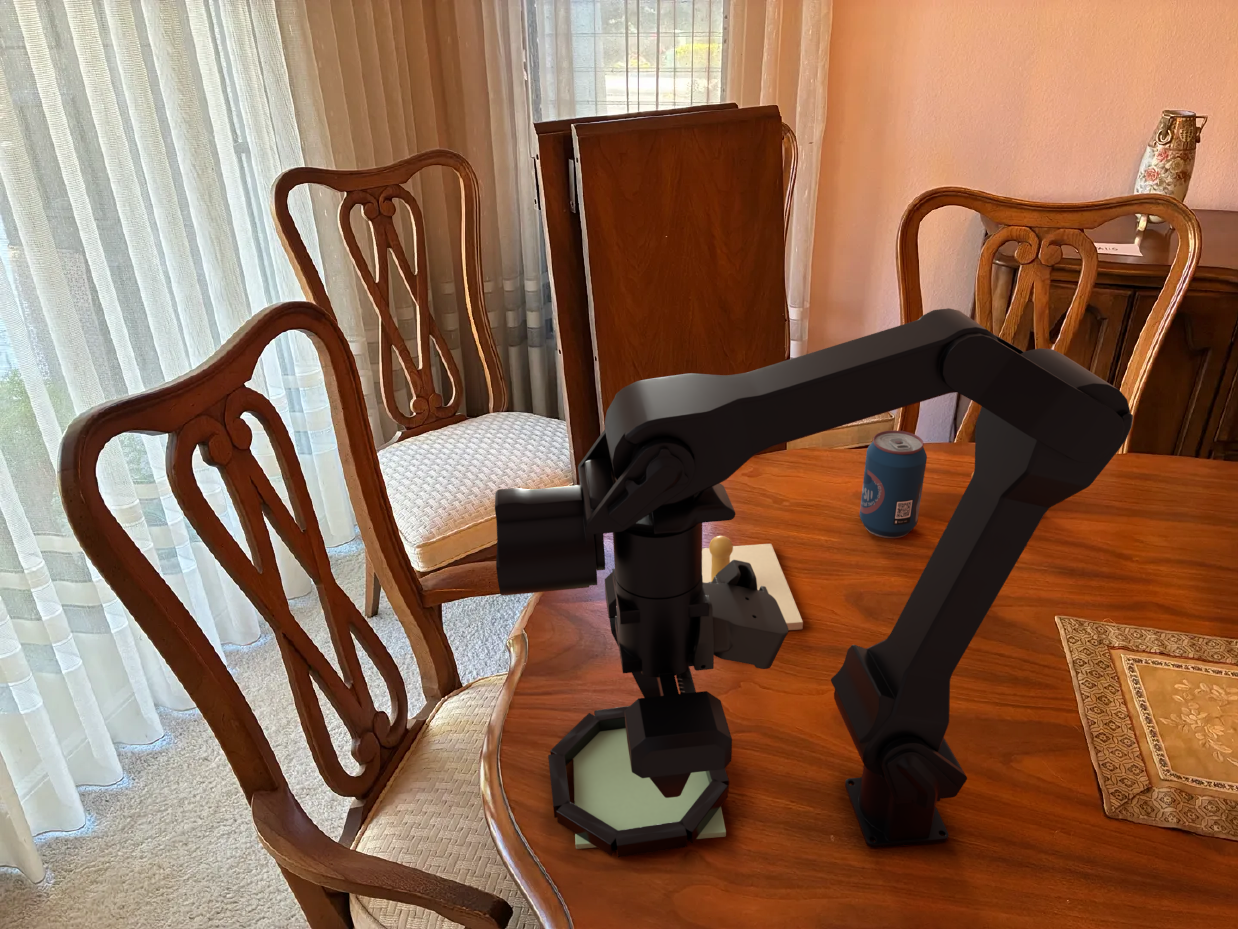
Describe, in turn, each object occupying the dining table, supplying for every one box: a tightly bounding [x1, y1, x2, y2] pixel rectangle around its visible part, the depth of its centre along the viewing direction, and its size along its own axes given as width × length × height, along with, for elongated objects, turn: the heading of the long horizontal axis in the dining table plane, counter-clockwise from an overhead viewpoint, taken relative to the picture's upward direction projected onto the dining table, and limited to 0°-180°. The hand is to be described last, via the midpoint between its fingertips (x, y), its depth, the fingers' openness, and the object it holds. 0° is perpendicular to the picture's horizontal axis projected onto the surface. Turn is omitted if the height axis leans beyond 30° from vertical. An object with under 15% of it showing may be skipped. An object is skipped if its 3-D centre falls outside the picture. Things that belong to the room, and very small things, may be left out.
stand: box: [702, 535, 804, 631], centre depth 95 cm, size 15×15×7 cm
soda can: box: [859, 429, 928, 539], centre depth 104 cm, size 7×7×12 cm
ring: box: [547, 705, 730, 858], centre depth 73 cm, size 15×15×1 cm
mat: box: [572, 728, 727, 850], centre depth 73 cm, size 12×12×1 cm
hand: (662, 745), depth 64 cm, fingers open, 9 cm apart
